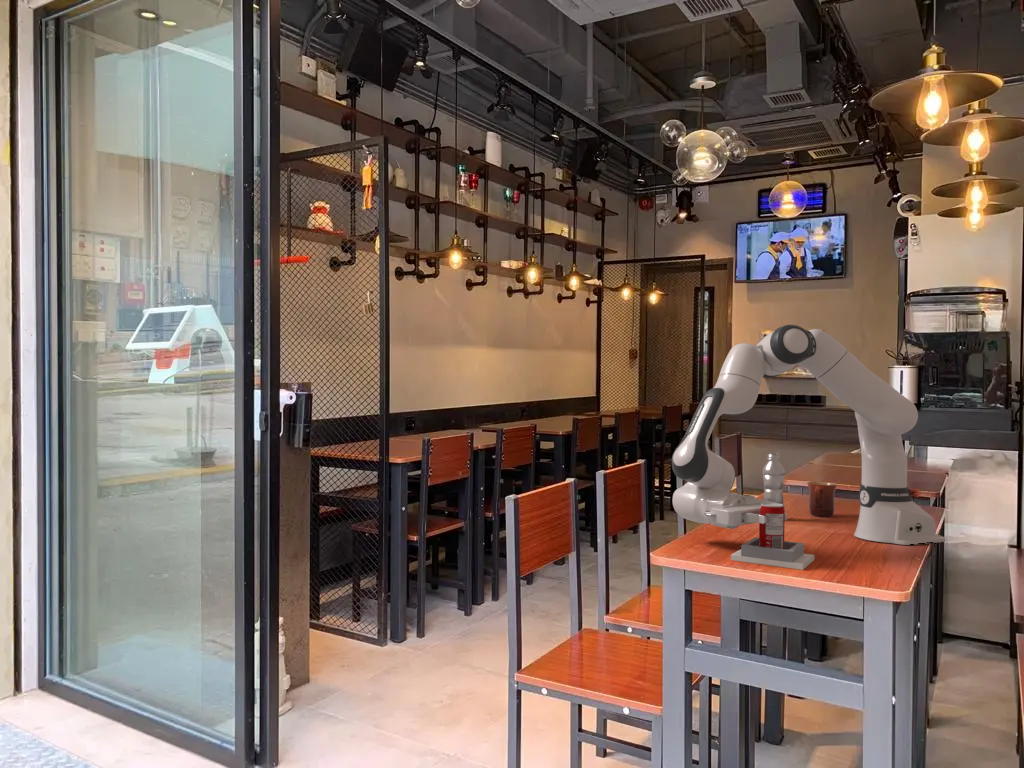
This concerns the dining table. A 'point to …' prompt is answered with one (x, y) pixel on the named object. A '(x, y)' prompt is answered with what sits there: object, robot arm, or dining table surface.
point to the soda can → (772, 526)
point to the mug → (821, 498)
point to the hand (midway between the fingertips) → (776, 518)
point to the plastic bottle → (773, 479)
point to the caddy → (774, 555)
